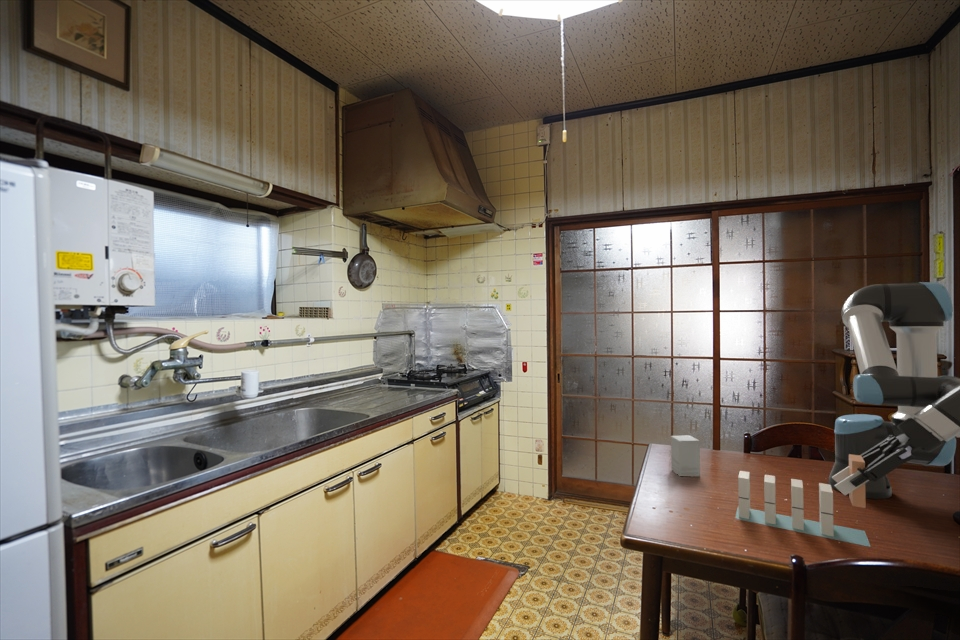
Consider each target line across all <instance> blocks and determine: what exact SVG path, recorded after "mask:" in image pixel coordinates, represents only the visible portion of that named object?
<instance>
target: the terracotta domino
mask: <svg viewBox="0 0 960 640" xmlns="http://www.w3.org/2000/svg"><path fill="white" fill-rule="evenodd" d="M858 468H861V469H864V468H865V462H864V460H863V458H862V456H860V455H852V454H849V476H850V475H851V474H853V473H855V472H856V471H858V470H857V469H858ZM848 496H849V500H850V503H851V505H852V507H856V508H863V509H866V508H867V507H866V506H867V505H866V499H867V498H865V484H863V485H861V486H860V487H858V488H857V489H855V490H853V491H852V492H850V493H849V494H848Z"/></svg>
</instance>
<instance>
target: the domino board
mask: <svg viewBox="0 0 960 640" xmlns="http://www.w3.org/2000/svg"><path fill="white" fill-rule="evenodd" d="M736 508H737V509H736V512H735V517H734V519H735V520H740V521H745V522H749V523H755V524H759V525H764V526H769V527H772V528H779V529H783V530H788V531H791V532H797V533H802V534H807V535H811V536H815V537H821V538H826V539H830V540H836V541H840V542H844V543H850V544H855V545H858V546H864V547H867V548H868V547H870V548H871V547H872V546H871V545H870V541H869V539H868V536H867V534H866V530H861V529H857V528H851V527H847V526H841V525H836V524H833V532H834V537H833V536H828V535H823V534H821V529H820V521H815V520H810V519H805V518H804V530H799V529H794V528H792V516H789V515H785V514H779V513H776V525H775V524H770V523H765V510H759V509H753V508H750V516H749V519H746V518H741V517H739V505H738V506H737V507H736Z"/></svg>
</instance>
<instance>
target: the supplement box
mask: <svg viewBox="0 0 960 640" xmlns="http://www.w3.org/2000/svg"><path fill="white" fill-rule="evenodd" d="M700 444H701V443H700V440H699V439H697V438H696V437H693V436H692V435H690V434H689V435H686V434H685V435H683V434H682V435H670V461H671V462H670V463H671V467H670V469H671V471H672V470H673V471H672V472H674V473H675V474H676V475H677V474H678V475H677V476H679V477H680V476H691V477H700V476H701V456H700V453H701V450H700V449H701V448H700Z"/></svg>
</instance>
